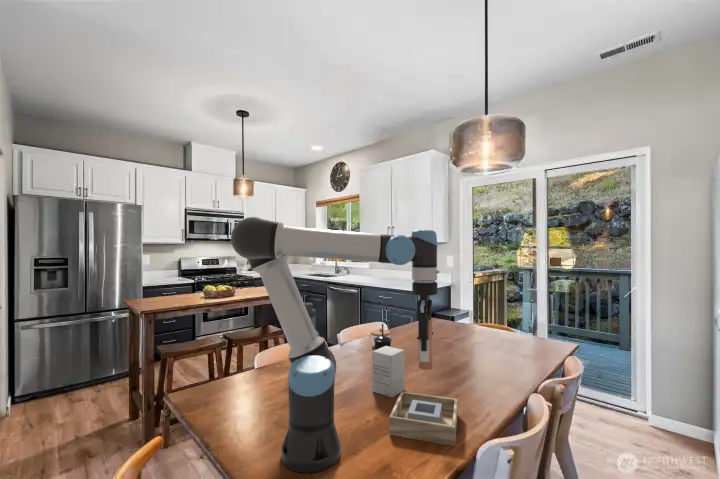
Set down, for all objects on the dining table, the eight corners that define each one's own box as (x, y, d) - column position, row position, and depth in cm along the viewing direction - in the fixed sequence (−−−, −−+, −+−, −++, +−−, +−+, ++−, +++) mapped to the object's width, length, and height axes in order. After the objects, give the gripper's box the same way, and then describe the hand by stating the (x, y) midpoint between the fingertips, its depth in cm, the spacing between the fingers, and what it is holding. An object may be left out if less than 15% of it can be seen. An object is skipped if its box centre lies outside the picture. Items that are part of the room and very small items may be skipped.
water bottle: (294, 364, 156) (295, 302, 156) (315, 361, 159) (316, 301, 160) (299, 371, 146) (299, 305, 147) (321, 368, 150) (321, 304, 150)
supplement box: (385, 383, 134) (385, 345, 134) (405, 390, 128) (405, 349, 128) (371, 391, 127) (371, 350, 127) (391, 398, 121) (391, 355, 121)
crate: (455, 446, 92) (454, 427, 92) (389, 434, 98) (389, 417, 98) (457, 414, 109) (457, 398, 109) (401, 406, 115) (401, 391, 115)
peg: (431, 370, 101) (431, 322, 101) (418, 369, 102) (417, 321, 103) (433, 365, 105) (432, 319, 105) (419, 364, 106) (419, 319, 106)
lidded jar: (367, 344, 187) (367, 327, 188) (386, 342, 191) (386, 325, 191) (374, 350, 177) (374, 331, 177) (393, 348, 180) (393, 330, 181)
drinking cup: (370, 372, 146) (370, 324, 146) (378, 366, 153) (378, 321, 153) (387, 375, 142) (387, 326, 143) (394, 369, 149) (394, 323, 150)
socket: (439, 431, 98) (439, 417, 98) (407, 426, 100) (407, 412, 101) (441, 416, 106) (441, 403, 106) (412, 412, 109) (412, 399, 109)
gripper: (434, 284, 95) (435, 369, 95) (439, 278, 111) (440, 351, 111) (407, 283, 97) (408, 367, 97) (416, 278, 113) (417, 349, 113)
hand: (425, 358), depth 104 cm, fingers closed on peg, 4 cm apart
